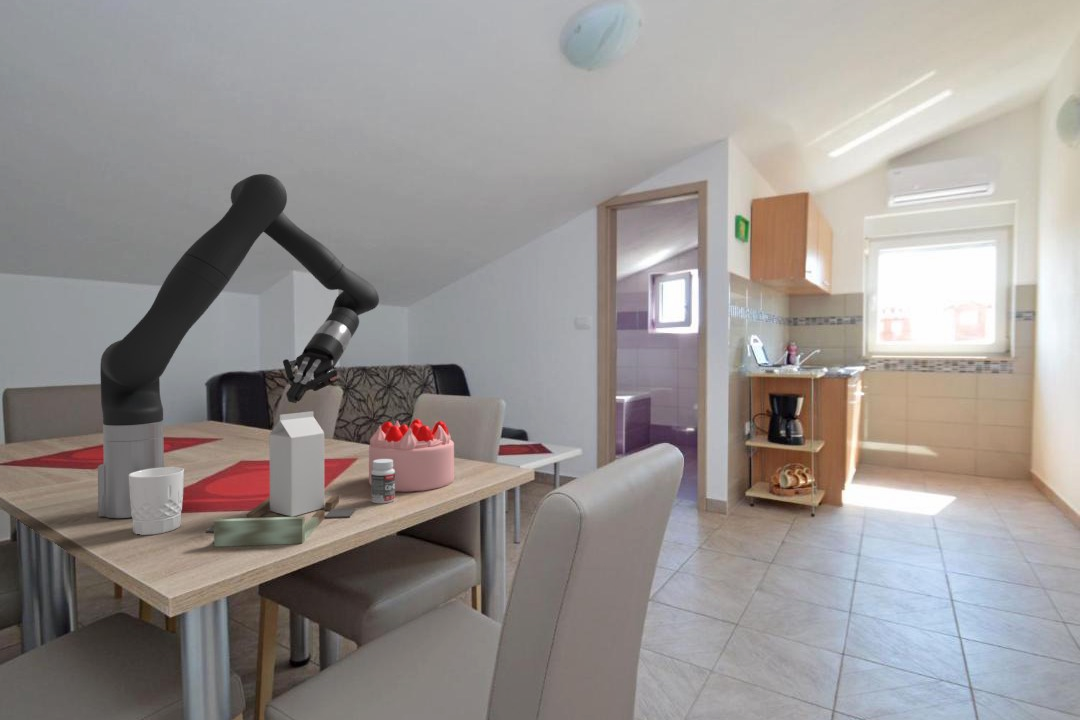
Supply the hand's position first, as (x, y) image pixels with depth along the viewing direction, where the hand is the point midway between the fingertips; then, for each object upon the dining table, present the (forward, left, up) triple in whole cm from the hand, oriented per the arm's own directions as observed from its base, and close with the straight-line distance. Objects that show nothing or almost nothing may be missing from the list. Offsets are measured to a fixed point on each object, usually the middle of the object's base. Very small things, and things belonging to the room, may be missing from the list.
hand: (291, 400), depth 113 cm
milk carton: (+4, -9, -21) cm, 23 cm away
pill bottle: (+19, -4, -21) cm, 29 cm away
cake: (+23, +12, -21) cm, 34 cm away
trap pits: (+4, -16, -21) cm, 26 cm away
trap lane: (+4, -16, -21) cm, 26 cm away
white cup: (-17, -18, -21) cm, 32 cm away
